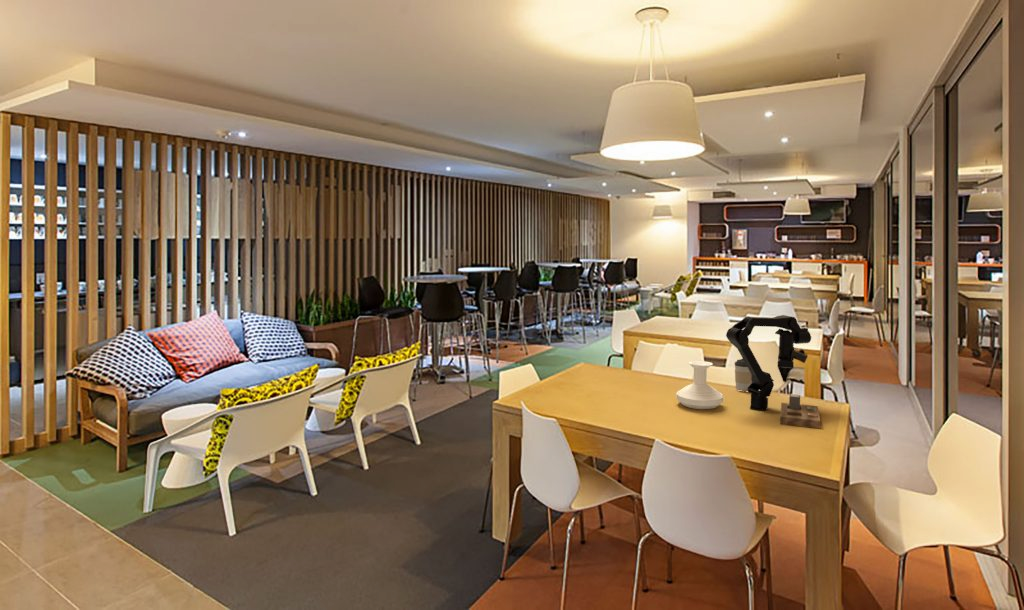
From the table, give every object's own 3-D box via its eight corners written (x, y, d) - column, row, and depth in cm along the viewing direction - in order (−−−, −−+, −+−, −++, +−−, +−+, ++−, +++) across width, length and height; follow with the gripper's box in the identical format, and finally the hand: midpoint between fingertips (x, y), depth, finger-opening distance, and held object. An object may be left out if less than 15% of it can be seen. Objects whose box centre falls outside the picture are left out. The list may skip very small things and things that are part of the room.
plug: (788, 415, 247) (789, 395, 246) (788, 412, 251) (789, 393, 250) (799, 416, 246) (800, 396, 245) (799, 413, 249) (800, 394, 248)
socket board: (780, 423, 236) (780, 415, 236) (781, 409, 256) (781, 401, 255) (819, 428, 230) (820, 419, 230) (817, 413, 250) (817, 404, 250)
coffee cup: (754, 393, 282) (755, 362, 281) (733, 391, 285) (734, 361, 284) (752, 388, 291) (754, 358, 289) (733, 387, 294) (734, 357, 292)
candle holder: (706, 415, 249) (707, 370, 246) (666, 405, 264) (667, 362, 262) (732, 406, 261) (733, 363, 259) (692, 397, 277) (693, 356, 274)
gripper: (807, 349, 246) (805, 386, 248) (806, 342, 263) (804, 376, 264) (778, 347, 251) (776, 383, 252) (778, 340, 267) (777, 374, 269)
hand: (784, 379), depth 259 cm, fingers open, 9 cm apart
